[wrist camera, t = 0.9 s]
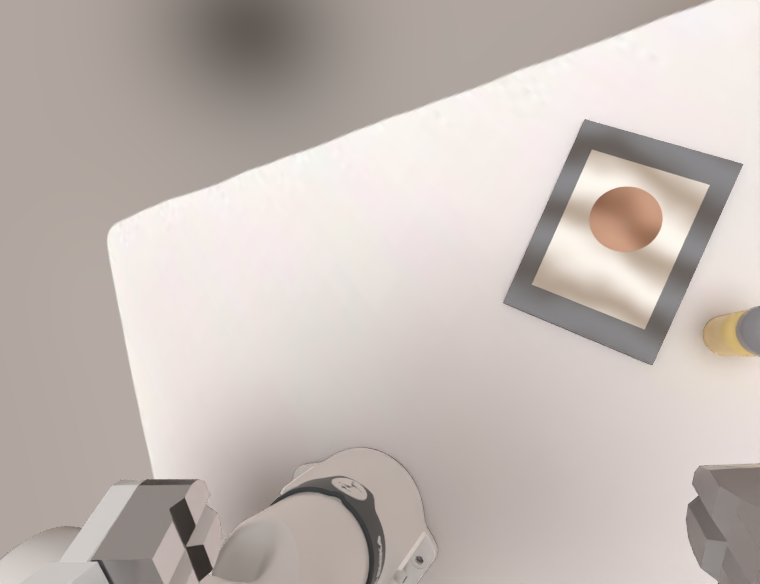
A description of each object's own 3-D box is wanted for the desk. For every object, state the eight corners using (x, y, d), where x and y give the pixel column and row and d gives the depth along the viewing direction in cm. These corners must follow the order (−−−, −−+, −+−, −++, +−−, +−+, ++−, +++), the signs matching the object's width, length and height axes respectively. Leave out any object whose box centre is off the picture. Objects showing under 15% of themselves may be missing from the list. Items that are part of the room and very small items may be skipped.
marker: (740, 364, 51) (795, 366, 40) (694, 346, 53) (735, 343, 41) (758, 325, 51) (818, 316, 40) (712, 308, 53) (757, 295, 41)
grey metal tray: (651, 364, 54) (653, 364, 53) (504, 303, 59) (503, 302, 58) (740, 166, 53) (744, 163, 52) (584, 122, 58) (585, 118, 57)
